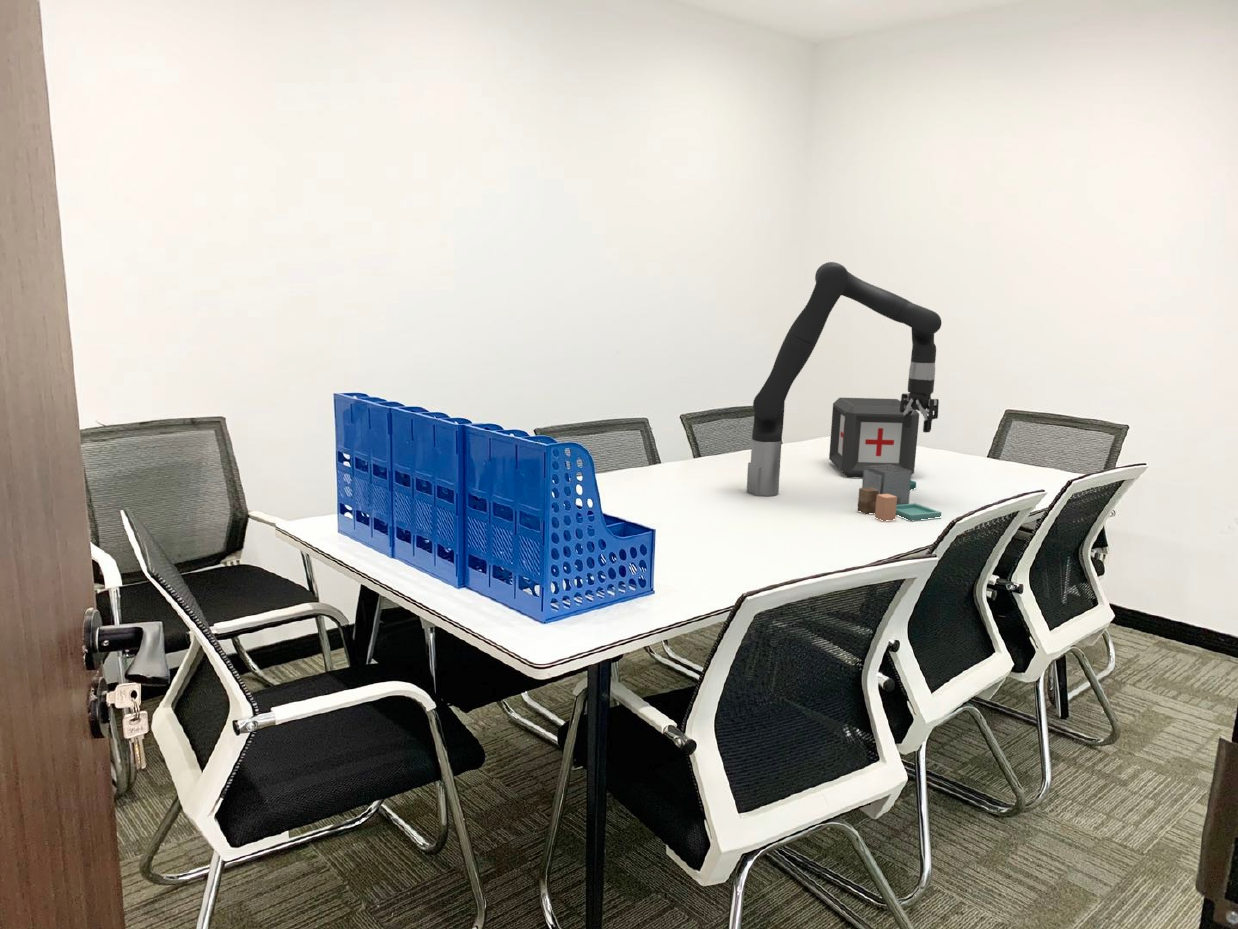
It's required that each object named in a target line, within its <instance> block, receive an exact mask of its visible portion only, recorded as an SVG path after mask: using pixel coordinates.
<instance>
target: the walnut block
mask: <svg viewBox="0 0 1238 929" xmlns="http://www.w3.org/2000/svg"><path fill="white" fill-rule="evenodd" d="M877 495H879V490H876V489H873V488H871V487H869V488H862V487H861V488H860V487H859V489H858V498H857V499H858V500H857V510H858V511H861V512H863V513H865V514H864V515H866V514H868V515H870V514H869V513H875V510H876V498H877ZM858 511H857V512H858ZM863 513H862V514H863Z"/></svg>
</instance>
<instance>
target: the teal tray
mask: <svg viewBox="0 0 1238 929" xmlns="http://www.w3.org/2000/svg"><path fill="white" fill-rule="evenodd" d="M896 515H899V516H901V517H904V518H906V519H908V520H910V521H912V520H921V519H928V518H935V517H940V516H941V517H942V512H941V511H939V510H936V509H934V508H930V507H928V506H925V505H921V504H919V503H917V502H914V503H909V504H902V505H896ZM908 520H907V521H908ZM910 521H909V522H910ZM921 521H922V520H921ZM912 522H913V521H912Z"/></svg>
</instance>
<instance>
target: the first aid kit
mask: <svg viewBox="0 0 1238 929" xmlns="http://www.w3.org/2000/svg"><path fill="white" fill-rule="evenodd" d="M900 404H901V399H898V398H876V397H875V398H874V397H873V398H872V397H866V398H865V397H839V398H837V399H836V400H835V401H834V402H833V403H832V416H831V427H830V428H831V429H830V442H829V452H828V453H829V455H828V460H830V462H832V464H833V465H834V467H836V468H837V469H838V470H839V471H840V472H841V473H842V474H844V476H845V477H846V478H852V477H863V470H864V466H872V465H885V464H891V465H894V466H898V467H901V468H904V469H907V470H911V471H912V473H911V476H913V474H915V465H916V454H917V447H918V446H917V445H918V444H917V443H918V432H919V425H920V424H919V423H920V413H919V411H918V410H915V411H914V412H913V413H912V415H911V416H912V422H911V427H910V428H905V427H904V414H903V413H902V412H900ZM904 408H905V405H904Z"/></svg>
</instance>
